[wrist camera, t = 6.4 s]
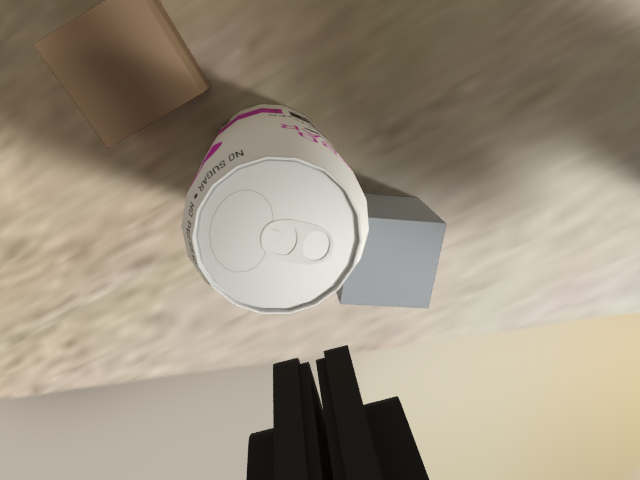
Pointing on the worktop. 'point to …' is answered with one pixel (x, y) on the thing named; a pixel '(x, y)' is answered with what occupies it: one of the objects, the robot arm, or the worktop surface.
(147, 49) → the walnut block
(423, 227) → the slate grey block
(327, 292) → the supplement can
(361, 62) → the worktop surface
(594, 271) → the worktop surface
